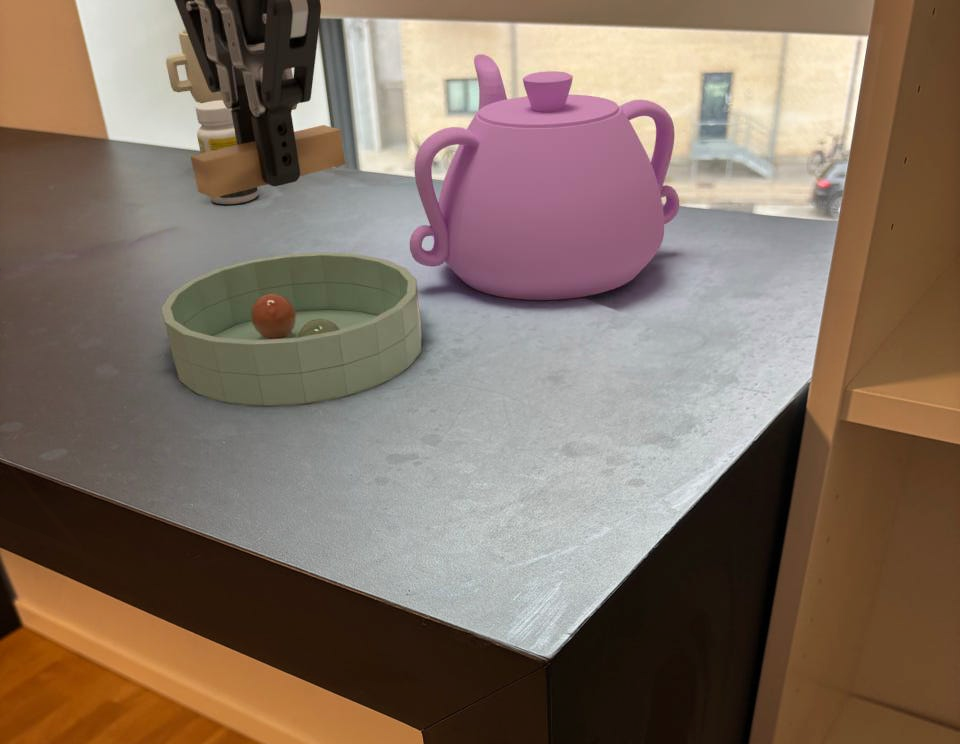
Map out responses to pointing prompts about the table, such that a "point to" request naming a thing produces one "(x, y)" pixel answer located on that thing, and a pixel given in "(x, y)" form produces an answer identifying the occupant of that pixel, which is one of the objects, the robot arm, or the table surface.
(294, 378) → the bowl
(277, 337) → the terracotta bead
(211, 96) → the character mug
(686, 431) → the table surface
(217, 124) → the supplement bottle
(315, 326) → the sage bead
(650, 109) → the teapot
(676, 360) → the table surface
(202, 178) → the wooden block
